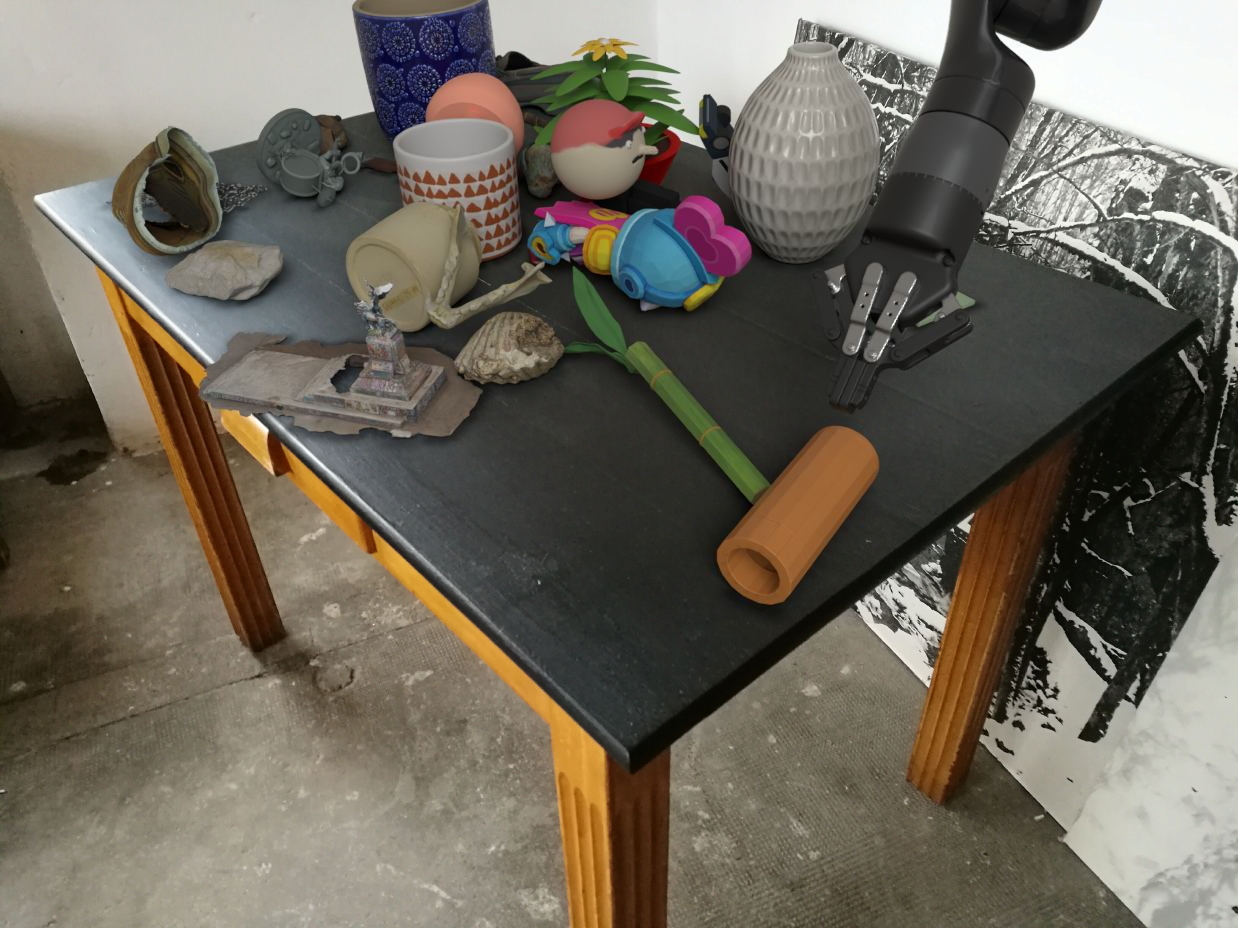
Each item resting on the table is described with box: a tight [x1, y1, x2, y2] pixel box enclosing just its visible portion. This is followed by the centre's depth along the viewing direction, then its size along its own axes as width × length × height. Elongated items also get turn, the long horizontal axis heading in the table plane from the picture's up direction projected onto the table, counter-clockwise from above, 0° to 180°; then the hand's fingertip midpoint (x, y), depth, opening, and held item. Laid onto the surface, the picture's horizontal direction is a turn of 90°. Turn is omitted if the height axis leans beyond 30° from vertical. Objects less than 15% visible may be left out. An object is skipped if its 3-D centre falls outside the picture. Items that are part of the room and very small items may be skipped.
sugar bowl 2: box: [426, 73, 525, 157], centre depth 115 cm, size 12×14×10 cm
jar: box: [716, 425, 880, 606], centre depth 68 cm, size 6×6×15 cm
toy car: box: [698, 93, 734, 200], centre depth 110 cm, size 5×16×5 cm
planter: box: [351, 0, 498, 147], centre depth 129 cm, size 18×18×21 cm
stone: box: [164, 239, 285, 301], centre depth 104 cm, size 14×6×10 cm
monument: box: [197, 279, 484, 439], centre depth 85 cm, size 30×16×13 cm, turn 73°
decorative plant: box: [563, 265, 772, 506], centre depth 81 cm, size 6×8×30 cm
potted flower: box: [530, 37, 699, 203], centre depth 111 cm, size 24×25×20 cm
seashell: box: [454, 311, 565, 385], centre depth 87 cm, size 11×7×10 cm
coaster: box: [915, 291, 976, 328], centre depth 96 cm, size 8×8×1 cm
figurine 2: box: [313, 114, 348, 161], centre depth 139 cm, size 14×4×9 cm
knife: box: [360, 156, 398, 174], centre depth 126 cm, size 28×1×5 cm
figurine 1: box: [254, 107, 366, 208], centre depth 123 cm, size 11×11×12 cm
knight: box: [526, 195, 753, 312], centre depth 96 cm, size 12×14×30 cm
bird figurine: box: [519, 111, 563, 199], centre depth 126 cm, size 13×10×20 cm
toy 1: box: [551, 99, 659, 199], centre depth 97 cm, size 10×12×10 cm
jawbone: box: [425, 203, 553, 330], centre depth 87 cm, size 12×13×8 cm
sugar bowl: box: [345, 202, 482, 333], centre depth 98 cm, size 15×11×15 cm
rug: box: [105, 181, 269, 216], centre depth 126 cm, size 10×20×1 cm, turn 72°
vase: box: [728, 41, 881, 264], centre depth 99 cm, size 16×16×22 cm
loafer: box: [496, 50, 604, 117], centre depth 148 cm, size 11×30×9 cm, turn 59°
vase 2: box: [392, 118, 523, 263], centre depth 108 cm, size 14×14×13 cm
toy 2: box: [593, 178, 683, 216], centre depth 104 cm, size 8×4×15 cm
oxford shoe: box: [111, 125, 224, 257], centre depth 113 cm, size 28×10×11 cm
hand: (840, 409), depth 67 cm, fingers closed
